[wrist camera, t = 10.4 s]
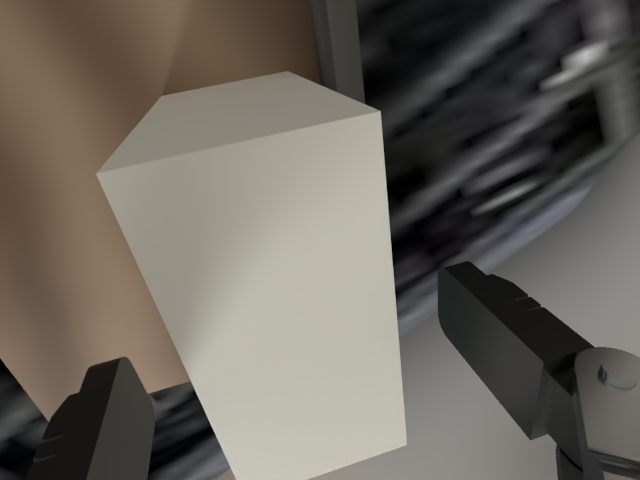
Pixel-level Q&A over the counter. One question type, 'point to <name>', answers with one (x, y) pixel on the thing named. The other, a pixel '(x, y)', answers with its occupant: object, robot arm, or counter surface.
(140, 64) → the shelf plank
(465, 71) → the counter surface
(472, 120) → the counter surface
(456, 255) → the counter surface
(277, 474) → the carton
